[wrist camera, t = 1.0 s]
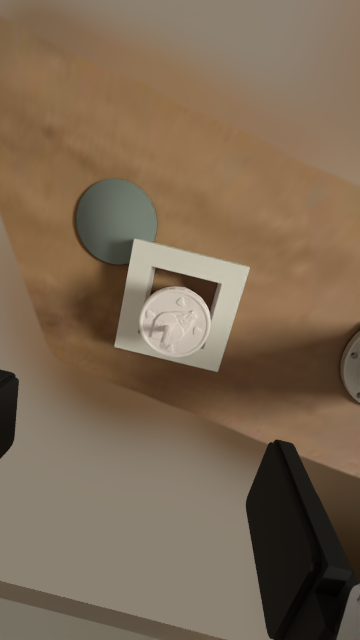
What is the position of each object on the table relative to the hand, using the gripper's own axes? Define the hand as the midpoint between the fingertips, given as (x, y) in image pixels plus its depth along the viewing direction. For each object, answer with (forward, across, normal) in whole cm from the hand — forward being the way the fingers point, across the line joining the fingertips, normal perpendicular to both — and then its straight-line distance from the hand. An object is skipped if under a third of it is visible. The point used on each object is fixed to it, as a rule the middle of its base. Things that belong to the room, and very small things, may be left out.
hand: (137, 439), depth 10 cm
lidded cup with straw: (+24, 0, 0) cm, 24 cm away
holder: (+24, 0, 0) cm, 24 cm away
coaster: (+24, +9, -7) cm, 27 cm away
